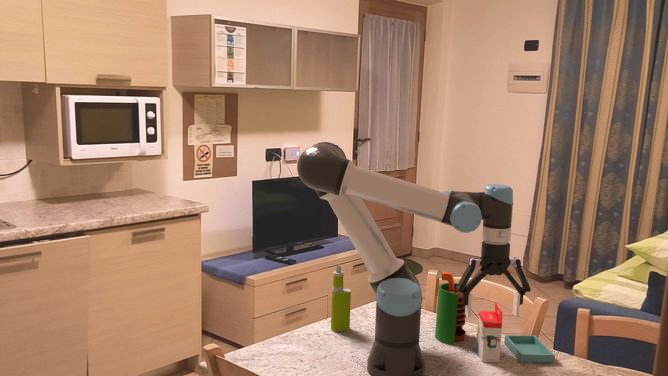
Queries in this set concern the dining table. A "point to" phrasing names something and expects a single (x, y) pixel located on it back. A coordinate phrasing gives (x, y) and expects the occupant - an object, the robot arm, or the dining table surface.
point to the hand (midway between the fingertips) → (491, 315)
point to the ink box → (489, 335)
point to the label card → (475, 335)
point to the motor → (450, 312)
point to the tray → (529, 349)
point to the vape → (340, 303)
